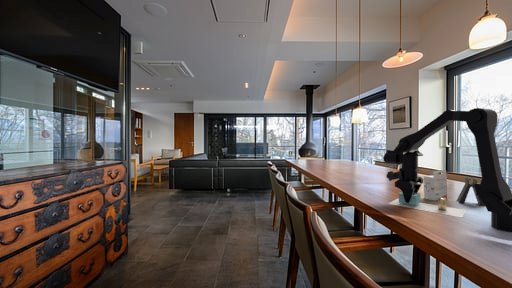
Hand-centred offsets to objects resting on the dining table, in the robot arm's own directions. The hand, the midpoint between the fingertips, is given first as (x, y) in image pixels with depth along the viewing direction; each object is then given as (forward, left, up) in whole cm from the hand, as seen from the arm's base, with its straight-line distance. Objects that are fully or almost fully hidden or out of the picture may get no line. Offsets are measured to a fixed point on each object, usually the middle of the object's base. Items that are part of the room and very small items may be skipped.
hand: (409, 201), depth 95 cm
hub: (0, -11, -1) cm, 11 cm away
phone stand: (+21, -17, -2) cm, 27 cm away
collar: (0, 0, 0) cm, 0 cm away
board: (0, -5, -2) cm, 6 cm away
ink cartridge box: (+19, -5, -2) cm, 20 cm away
